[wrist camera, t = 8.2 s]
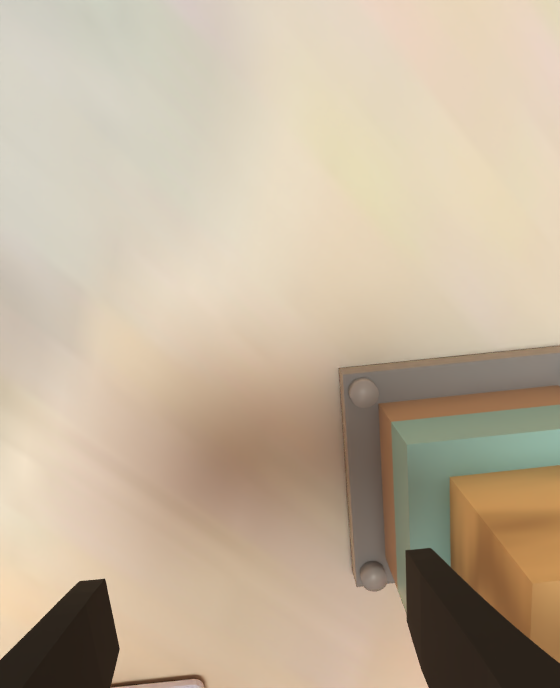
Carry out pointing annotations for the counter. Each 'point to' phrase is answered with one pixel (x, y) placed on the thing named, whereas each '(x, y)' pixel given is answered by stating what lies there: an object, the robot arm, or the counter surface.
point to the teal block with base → (437, 445)
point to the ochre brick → (511, 546)
